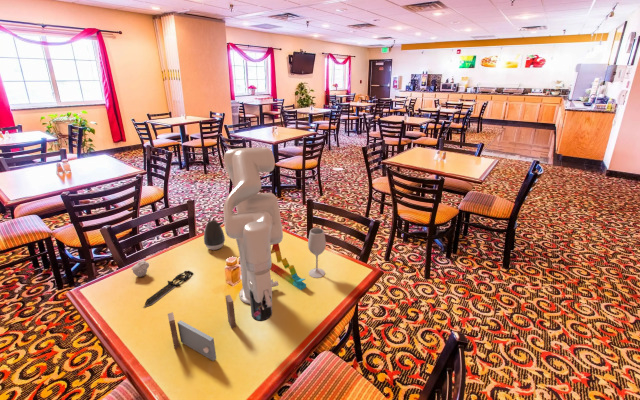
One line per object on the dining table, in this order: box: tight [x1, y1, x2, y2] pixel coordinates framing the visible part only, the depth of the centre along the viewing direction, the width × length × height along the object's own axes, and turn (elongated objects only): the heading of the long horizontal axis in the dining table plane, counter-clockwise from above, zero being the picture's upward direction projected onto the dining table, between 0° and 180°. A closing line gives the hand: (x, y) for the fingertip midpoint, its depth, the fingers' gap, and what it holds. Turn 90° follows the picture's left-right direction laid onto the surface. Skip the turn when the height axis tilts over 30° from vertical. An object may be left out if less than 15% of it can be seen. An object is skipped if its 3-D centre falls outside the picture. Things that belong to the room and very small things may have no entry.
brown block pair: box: [167, 294, 237, 350], centre depth 108 cm, size 20×4×11 cm, turn 120°
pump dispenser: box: [203, 219, 226, 251], centre depth 162 cm, size 10×10×15 cm
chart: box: [269, 243, 307, 291], centre depth 141 cm, size 30×3×15 cm, turn 45°
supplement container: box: [249, 288, 273, 322], centre depth 101 cm, size 7×7×10 cm
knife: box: [143, 270, 194, 308], centre depth 133 cm, size 25×6×1 cm, turn 154°
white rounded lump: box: [131, 259, 150, 278], centre depth 140 cm, size 6×7×7 cm
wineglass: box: [307, 227, 327, 279], centre depth 140 cm, size 8×8×21 cm
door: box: [176, 320, 217, 362], centre depth 100 cm, size 15×2×8 cm, turn 60°
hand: (261, 309), depth 102 cm, fingers closed on supplement container, 6 cm apart
